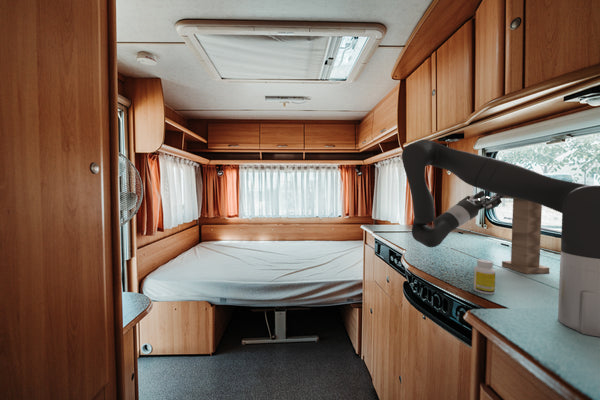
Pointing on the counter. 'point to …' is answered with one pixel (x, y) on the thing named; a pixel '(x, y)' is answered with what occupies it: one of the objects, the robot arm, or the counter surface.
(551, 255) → the counter surface
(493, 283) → the supplement bottle
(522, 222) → the stand
